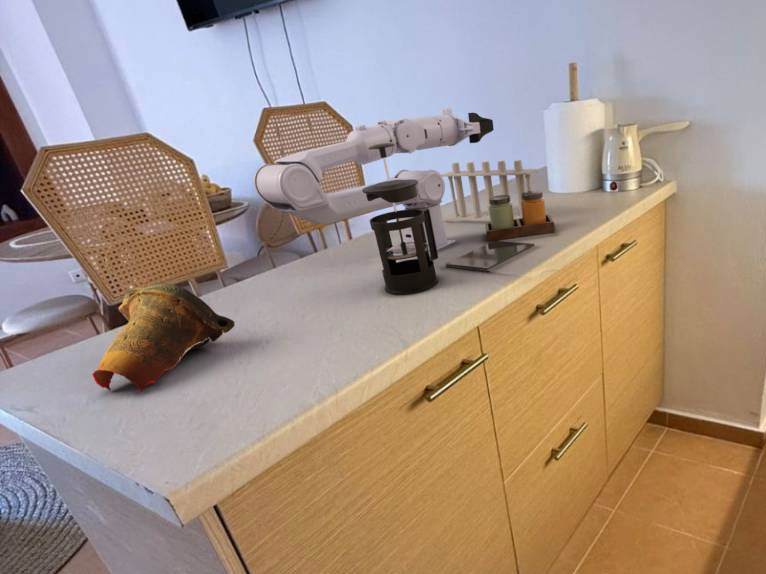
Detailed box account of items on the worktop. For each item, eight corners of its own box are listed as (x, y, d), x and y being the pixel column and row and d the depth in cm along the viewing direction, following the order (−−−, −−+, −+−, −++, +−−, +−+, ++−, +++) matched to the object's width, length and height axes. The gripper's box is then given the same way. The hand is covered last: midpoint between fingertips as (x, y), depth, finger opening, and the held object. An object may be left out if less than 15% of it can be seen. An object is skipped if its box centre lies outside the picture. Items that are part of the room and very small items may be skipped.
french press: (405, 299, 90) (371, 149, 79) (371, 291, 96) (334, 150, 85) (456, 276, 98) (431, 136, 87) (421, 270, 104) (394, 138, 92)
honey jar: (538, 234, 114) (534, 195, 110) (519, 233, 117) (515, 195, 113) (551, 228, 117) (548, 190, 113) (532, 227, 120) (528, 190, 116)
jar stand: (487, 244, 114) (486, 231, 113) (486, 235, 120) (485, 223, 119) (555, 235, 114) (554, 221, 113) (550, 226, 120) (549, 214, 119)
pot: (24, 341, 67) (116, 253, 79) (67, 397, 76) (145, 310, 87) (163, 373, 67) (235, 280, 79) (190, 425, 76) (251, 335, 88)
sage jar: (506, 239, 114) (501, 200, 110) (488, 237, 117) (482, 199, 113) (520, 232, 117) (515, 194, 113) (501, 231, 120) (497, 194, 116)
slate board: (487, 272, 98) (487, 268, 97) (446, 267, 103) (445, 263, 103) (534, 247, 108) (534, 243, 107) (494, 244, 113) (494, 240, 113)
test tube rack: (447, 221, 137) (437, 165, 131) (458, 216, 140) (449, 161, 134) (532, 224, 124) (526, 162, 118) (542, 219, 127) (537, 158, 121)
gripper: (454, 107, 105) (502, 102, 113) (405, 112, 113) (453, 107, 122) (459, 147, 108) (505, 140, 117) (411, 149, 117) (457, 142, 126)
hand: (478, 126), depth 120 cm, fingers open, 7 cm apart
